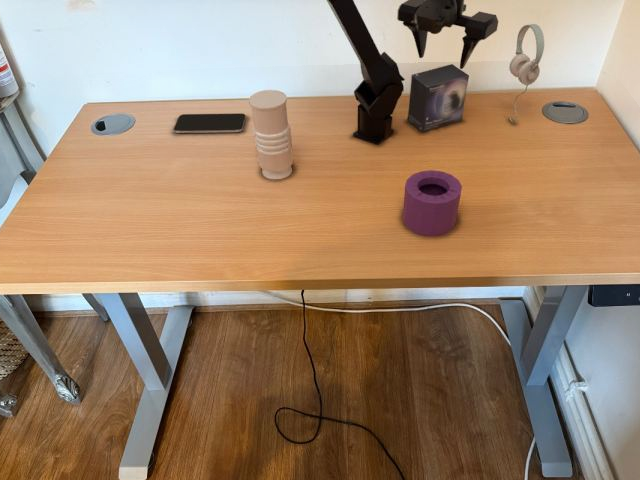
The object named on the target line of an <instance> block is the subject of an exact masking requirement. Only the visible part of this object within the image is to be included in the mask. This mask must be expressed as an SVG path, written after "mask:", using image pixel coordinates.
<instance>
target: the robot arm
mask: <svg viewBox="0 0 640 480" xmlns="http://www.w3.org/2000/svg"><path fill="white" fill-rule="evenodd" d="M326 2H327V4H328V6H329V7H330V8H329V9H330V10H331V11H332V13H333V16H334V17H335V19H336V21H337V22H338V24H339V27H340V28H341V30H342V31H343V33H344V35H345V37H346V39H347V41H348V43H349V44H350V46H351V48H352V50H353V52H354V54H355V55H356V57H357V59H358V61H359V64H360V72H361V76H362V79H363V80H362V81H361V82H360V84H359V85H357V87H356V89H354V91H353V94H354V97H355V100H356V101H357V102H358V103H359V104H358V105H357V129H356V130H355V131H354V132H353V133H352V137H354V138H358V139H359V140H363V141H366V142H369V143H371V144H374V145H380V144H381V143H382V142H383V141H384V140H386V139H388V138H389V137H390V136H391V135H392V134H393V133H395V129H393V114H394V112H395V109H396V106H397V104H398V101H399V100H400V98H401V96H402V95H403V92H404V91H405V87H404V83H403V82H404V81H405V80H406V79H405V78H404V76H402V75H401V73H400V69H399V66H398V64H397V62H396V61H395V60H394V59H393V58H392V57H391V56H390V55H389V54H388V53H386V51H383V52H382V53H380V51H379V49H378V47H377V44H376V43H375V41H374V39H373V36H372V35H371V33H370V31H369V28H368V27H367V25H366V23H365V21H364V19H363V17H362V15H361V13H360V11H359V9H358V6H357V5H356V3H355V0H326ZM466 10H467V4H465V0H405V1H404V2H402V3H401V4H400V5H399V7H398V8H397V16H396V17H397V18H396V20H397V21H399V22H402V25H403V26H404V27H407V28H408V29H409V30H410V31H411V34H412V36H413V40H414V42H415V46H416V50H417V55H418V58H419V59H422V58H424V55H425V53H426V47H427V40H428V33H430V34H432V35H437V34H439V33H441V32H442V30H443V29H444V28H452V27H453V26H457V27H461V28H464V34H465V35H464V36H462V39H461V40H462V41H463V46H462V52H461V57H460V61H459V69H460V70H463V69H464V68H465V67H466V65H467V63H468V61H469V59H470V57H471V56H472V54H473V52H474V50H475V48H476V46H477V45H478V44H479V43H480V41H484V40H486V39H487V38H489V37H490V36H492V35H493V34H494V33H496V32H497V31H498V27H499V19H498V16H497V15H496V14H493V13H490V12H489V13H488V12H484V11H477V12H476V13H475V14H473V15H472V16H470V15H464V14H463V13H465V12H466Z"/></svg>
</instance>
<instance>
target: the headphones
mask: <svg viewBox="0 0 640 480" xmlns="http://www.w3.org/2000/svg"><path fill="white" fill-rule="evenodd" d="M529 29H531V30H532V32H533V35H534V37H535V45H536V46H535V47H536V48H535V49H536V52H535V53H536V54H535V58H533V60H531V58H530V57H529V56H528V55H527V54H526V53H524V51H523V41H524V37H525V36H526V33H527V32H528V30H529ZM544 51H545V37H544V33H543V30H542V28H541V27H540V26H539V25H538V24H536V23H532V24H531V23H530V24H525V25H523V26H522V27H521V28H520V29H519V31H518V33H517V38H516V50H515V55H514V56H513V57H512V59H511V60H510V63H509V72H510V74H511V75H512V76H513V77H515V78H517V79H518V81H519V82H520V83H521V84H522V85H524V86H526V87H525V90H524V91H522V92H520V93H519V94H518V95H517V96H516V97H515V99H514V104H513V105H514V112H515V119H514V121H513V120H512V118H511V116H509V117H508V118H509V121H510V123H513V124H515V123H516V121H517V119H518V113H517V106H516V102H517V99H518V97H520V96H521V95H522V94H525V93H526V91H527V89H528V87H529V86H530V85H532V84H534V83H535V82H536V81H537V79H538V78H539V76H540V71H541V69H540V65H539V64H540V62H541V59H542V57H543V54H544Z"/></svg>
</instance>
